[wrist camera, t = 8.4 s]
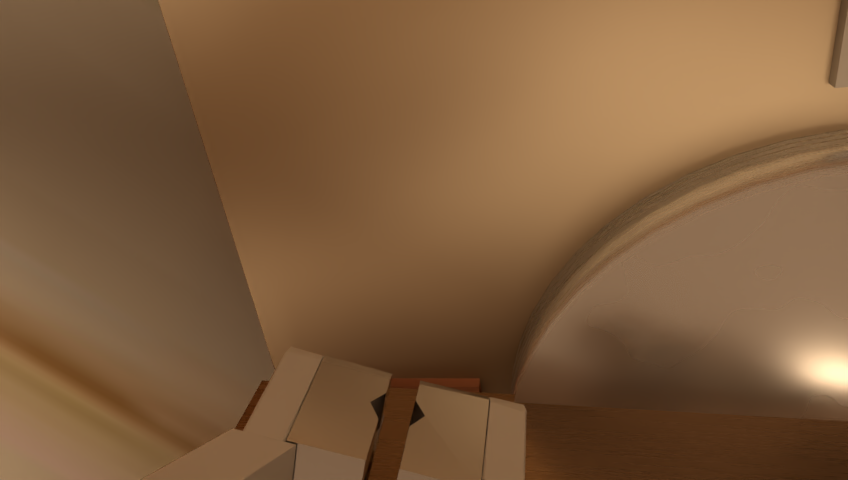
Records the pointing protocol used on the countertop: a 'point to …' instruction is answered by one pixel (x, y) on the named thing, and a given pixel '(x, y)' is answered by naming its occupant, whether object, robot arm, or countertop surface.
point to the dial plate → (472, 149)
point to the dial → (691, 333)
